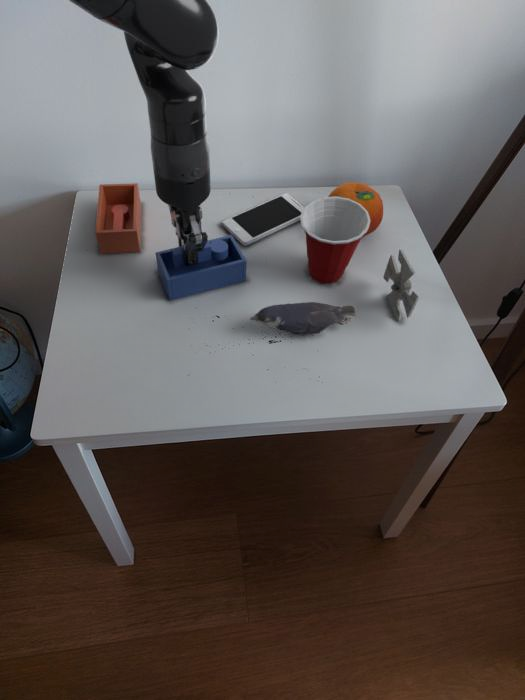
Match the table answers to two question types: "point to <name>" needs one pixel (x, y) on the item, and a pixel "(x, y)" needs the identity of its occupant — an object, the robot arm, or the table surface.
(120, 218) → the red spoon
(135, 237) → the orange bin
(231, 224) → the smartphone
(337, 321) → the bird model
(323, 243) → the plastic cup
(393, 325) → the table surface
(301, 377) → the table surface
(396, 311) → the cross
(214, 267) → the blue bin
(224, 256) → the blue spoon
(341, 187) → the fruit
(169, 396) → the table surface
